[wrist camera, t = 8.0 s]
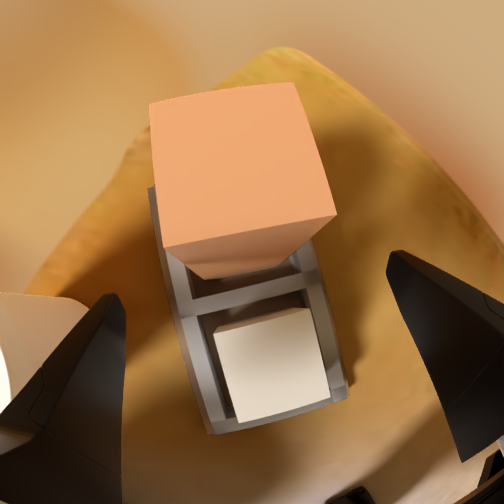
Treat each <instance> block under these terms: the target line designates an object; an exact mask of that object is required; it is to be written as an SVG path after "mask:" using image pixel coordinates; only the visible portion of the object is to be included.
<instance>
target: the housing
mask: <svg viewBox="0 0 504 504" xmlns="http://www.w3.org/2000/svg"><path fill="white" fill-rule="evenodd" d="M147 189H148V195H149V202H150V208H151V214H152V220H153V226H154V232H155V237H156V243H157V248H158V253H159V258H160V263H161V268H162V273H163V278H164V282H165V287H166V291H167V296H168V300H169V304H170V309H171V313H172V317H173V321H174V325H175V329H176V333H177V337H178V340H179V344H180V348H181V351H182V355H183V359H184V362H185V366H186V369H187V373H188V376H189V379H190V383H191V386H192V389H193V393H194V396H195V399H196V402H197V405H198V408H199V411H200V414H201V417H202V420H203V423H204V426H205V429H206V432H207V435H211V434H215V435H218V434H223V433H228V432H233V431H238V430H242V429H247V428H251V427H255V426H259V425H263V424H267V423H271V422H275V421H279V420H282V419H286V418H289V417H293V416H296V415H299V414H303V413H306V412H309V411H312V410H315V409H318V408H321V407H324V406H327V405H330V404H333V403H335V402H338V401H341V400H344V399H346V398H347V397H348V396H350V392H349V387H348V382H347V377H346V372H345V368H344V363H343V358H342V354H341V349H340V345H339V341H338V336H337V332H336V328H335V324H334V320H333V316H332V311H331V307H330V303H329V300H328V296H327V292H326V288H325V284H324V280H323V277H322V273H321V269H320V265H319V262H318V258H317V255H316V251H315V247H314V244H313V240H312V237H311V238H310V239H309V240H307V241H306V242H305V243H304V244H303V245H302V246H300V247H299V248H298V249H297V250H296V251H295V252H293V253H292V254H291V255H290V256H289V257H288V258H286V259H285V260H284V261H283V262H282V263H281V264H279V265H278V266H277V267H275V268H270V269H265V270H260V271H255V272H250V273H245V274H241V275H236V276H231V277H226V278H220V279H215V280H210V281H205V280H204V279H202V278H201V277H200V276H198V275H197V274H196V273H195V272H193V271H192V270H191V269H189V268H188V267H187V266H186V265H184V264H183V263H182V262H181V261H179V260H178V259H177V258H176V257H174V256H173V255H172V254H171V253H169V252H168V251H167V250H166V249H164V248H163V242H162V235H161V228H160V221H159V213H158V205H157V197H156V188H155V184H154V187H151V188H147ZM288 307H292V308H307V309H310V311H311V315H312V319H313V323H314V327H315V331H316V335H317V340H318V344H319V348H320V352H321V356H322V361H323V365H324V369H325V374H326V378H327V382H328V387H329V391H330V396H331V397H329V398H327V399H324V400H321V401H318V402H315V403H312V404H309V405H305V406H302V407H299V408H296V409H292V410H289V411H285V412H282V413H278V414H275V415H271V416H267V417H263V418H259V419H255V420H251V421H247V422H242V423H239V422H238V419H237V416H236V413H235V409H234V406H233V403H232V400H231V396H230V393H229V389H228V386H227V383H226V379H225V376H224V372H223V369H222V365H221V361H220V358H219V354H218V350H217V347H216V343H215V339H214V336H213V333H214V332H215V330H216V329H217V327H218V326H219V325H222V324H226V323H230V322H234V321H238V320H242V319H246V318H250V317H254V316H258V315H262V314H265V313H269V312H273V311H277V310H280V309H284V308H288Z"/></svg>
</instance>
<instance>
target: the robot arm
mask: <svg viewBox="0 0 504 504" xmlns="http://www.w3.org/2000/svg"><path fill="white" fill-rule="evenodd" d="M386 276H387V279H388V282H389V284H390V287H391V289H392V292H393V294H394V297H395V299H396V302H397V305H398V307H399V310H400V312H401V314H402V316H403V319H404V321H405V323H406V325H407V327H408V329H409V331H410V333H411V335H412V337H413V339H414V342H415V344H416V346H417V348H418V350H419V352H420V355H421V357H422V359H423V361H424V364H425V366H426V368H427V371H428V373H429V375H430V378H431V380H432V382H433V385H434V387H435V390H436V392H437V395H438V397H439V400H440V402H441V405H442V407H443V410H444V412H445V416H446V419H447V421H448V424H449V427H450V430H451V433H452V435H453V438H454V441H455V444H456V447H457V451H458V454H459V457H460V460H461V462H462V463H463V462H465V461H466V460H468V459H470V458H471V457H473V456H474V455H476V454H477V453H479V452H480V451H482V450H483V449H485V448H486V447H488V446H489V445H491V444H492V443H494V442H495V441H496V442H497V444H498V446H499V448H500V449H498V450H497V451H496V452H494V453H493V454H492V455H490V456H489V457H487V458H486V461H485V465H484V468H483V471H482V474H481V478H480V481H479V483H478V486H477V487H478V488H477V489H475V490H474V491H472V492H471V493H469V494H468V495H466V496H465V497H463V498H462V499H460V500H458V501H457V502H455V503H454V504H504V304H503V303H501V302H499V301H497V300H496V299H494V298H492V297H490V296H489V295H487V294H485V293H482V292H481V291H480V290H478V289H476V288H474V287H473V286H471V285H469V284H467V283H465V282H463V281H462V280H460V279H458V278H456V277H454V276H452V275H451V274H449V273H447V272H445V271H443V270H441V269H439V268H437V267H435V266H433V265H431V264H430V263H428V262H426V261H424V260H422V259H420V258H418V257H416V256H414V255H412V254H410V253H408V252H406V251H404V250H396V251H392V252H391V253H390V256H389V260H388V264H387V268H386ZM125 363H126V313H125V310H124V308H123V305H122V303H121V301H120V299H119V297H118V295H117V294H116V293H114V292H112V293H105V294H103V295H102V296H101V297H100V298H99V299H98V300H97V302H96V303H95V304H94V305H93V306H92V307H91V308H90V309H89V310H88V311H87V313H86V314H85V315H84V316H83V317H82V318H81V319H80V320H79V322H78V323H77V324H76V325H75V326H74V327H73V328H72V329H71V331H70V332H69V333H68V334H67V335H66V336H65V338H64V339H63V340H62V341H61V342H60V343H59V345H58V346H57V347H56V348H55V349H54V351H53V352H52V353H51V354H50V355H49V357H48V358H47V359H46V360H45V361H44V363H43V364H42V367H40V368H39V369H38V370H37V371H36V373H35V374H34V375H33V376H32V377H31V379H30V380H29V381H28V382H27V384H26V385H25V386H24V387H23V388H22V389H21V391H20V392H19V393H18V394H17V395H16V396H15V397H14V398H13V400H12V401H11V402H10V403H9V404H8V405H7V406H6V407H5V409H4V410H3V411H2V412H1V413H0V504H122V486H121V423H122V402H123V387H124V375H125ZM360 491H361V492H360ZM330 504H375V502H374V500H373V499H372V497H371V496H370V494H369V493H368V491H367V489H366V488H365V487H364V486H361V487H358V488H357V489H355V490H353V491H352V492H350V493H348V494H347V495H345V496H343V497H341V498H340V499H338V500H336V501H334V502H332V503H330Z"/></svg>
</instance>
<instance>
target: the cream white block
mask: <svg viewBox="0 0 504 504" xmlns="http://www.w3.org/2000/svg"><path fill="white" fill-rule="evenodd" d="M213 336H214V339H215V343H216V347H217V350H218V354H219V358H220V361H221V365H222V369H223V372H224V376H225V379H226V383H227V386H228V389H229V393H230V396H231V400H232V403H233V406H234V409H235V413H236V416H237V419H238V422H239V423H242V422H247V421H251V420H255V419H259V418H263V417H267V416H271V415H275V414H278V413H282V412H285V411H289V410H292V409H296V408H299V407H302V406H305V405H309V404H312V403H315V402H318V401H321V400H324V399H327V398H329V397H331V396H330V391H329V387H328V382H327V378H326V374H325V369H324V365H323V361H322V356H321V352H320V348H319V344H318V340H317V335H316V331H315V327H314V323H313V319H312V315H311V311H310V309H307V308H292V307H288V308H284V309H280V310H277V311H273V312H269V313H265V314H262V315H258V316H254V317H250V318H246V319H242V320H238V321H234V322H230V323H226V324H222V325H219V326H218V327H217V329H216V330H215V332H214V333H213Z"/></svg>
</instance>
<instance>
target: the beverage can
mask: <svg viewBox="0 0 504 504" xmlns="http://www.w3.org/2000/svg"><path fill="white" fill-rule="evenodd" d="M88 310H89V309H88V308H87V307H86V306H85V305H83V304H82V303H80V302H78V301H76V300H74V299H71V298H65V297H53V296H40V295H29V294H17V293H8V292H0V413H1V412H2V411H3V410H4V409H5V407H6V406H7V405H8V404H9V403H10V402H11V401H12V400H13V398H14V397H15V396H16V395H17V394H18V393H19V392H20V391H21V389H22V388H23V387H24V386H25V385H26V384H27V382H28V381H29V380H30V379H31V377H32V376H33V375H34V374H35V373H36V371H37V370H38V369H39V368H40V367H42V364H43V363H44V361H45V360H46V359H47V358H48V357H49V355H50V354H51V353H52V352H53V351H54V349H55V348H56V347H57V346H58V345H59V343H60V342H61V341H62V340H63V339H64V338H65V336H66V335H67V334H68V333H69V332H70V331H71V329H72V328H73V327H74V326H75V325H76V324H77V323H78V322H79V320H80V319H81V318H82V317H83V316H84V315H85V314H86V313H87V311H88Z"/></svg>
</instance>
